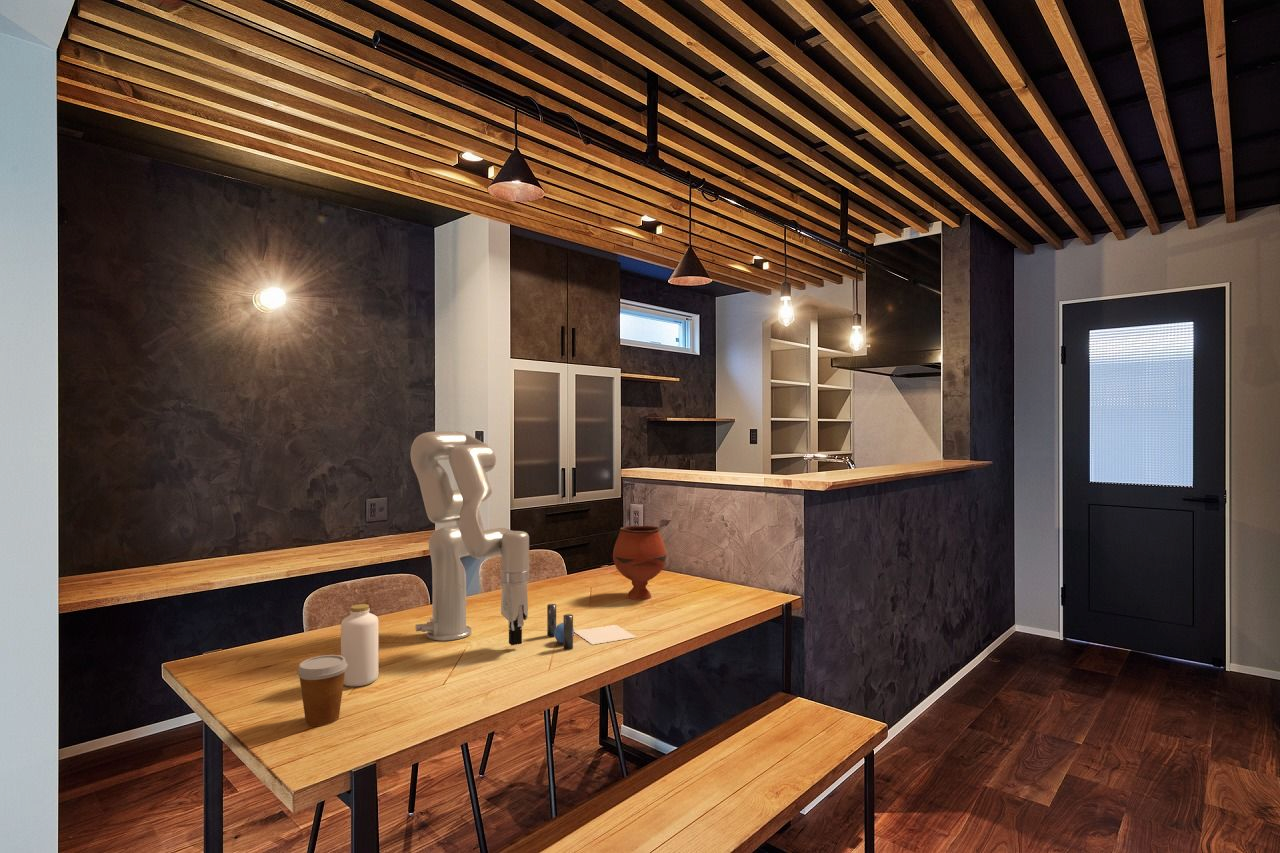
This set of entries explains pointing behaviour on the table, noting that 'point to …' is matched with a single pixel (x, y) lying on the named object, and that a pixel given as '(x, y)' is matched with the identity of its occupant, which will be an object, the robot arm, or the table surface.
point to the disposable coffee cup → (322, 688)
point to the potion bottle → (360, 646)
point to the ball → (560, 633)
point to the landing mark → (604, 634)
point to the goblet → (639, 557)
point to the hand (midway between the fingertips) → (515, 643)
